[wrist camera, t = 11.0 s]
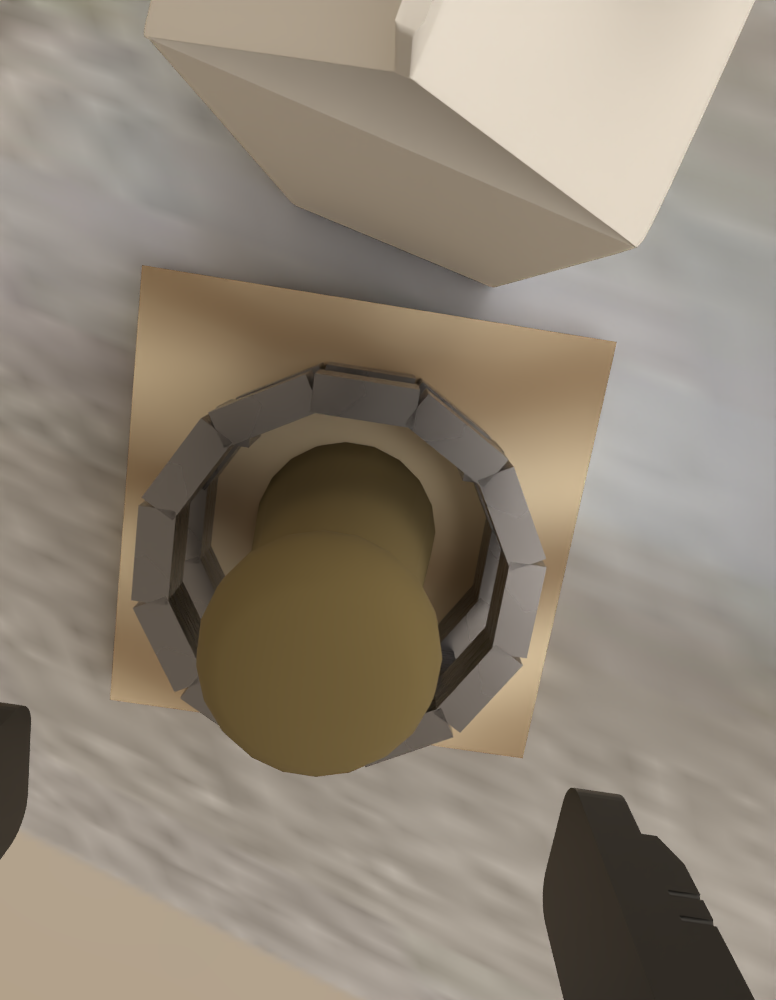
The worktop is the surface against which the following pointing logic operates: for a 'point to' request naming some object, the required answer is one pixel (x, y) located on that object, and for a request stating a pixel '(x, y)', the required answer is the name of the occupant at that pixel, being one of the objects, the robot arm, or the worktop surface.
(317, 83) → the milk carton
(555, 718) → the worktop surface
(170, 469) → the iron collars
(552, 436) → the birch board
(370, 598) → the olive rounded tall piece
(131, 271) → the worktop surface
